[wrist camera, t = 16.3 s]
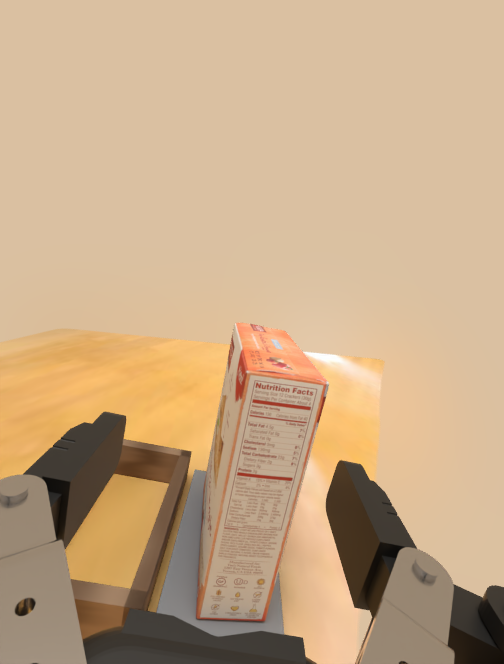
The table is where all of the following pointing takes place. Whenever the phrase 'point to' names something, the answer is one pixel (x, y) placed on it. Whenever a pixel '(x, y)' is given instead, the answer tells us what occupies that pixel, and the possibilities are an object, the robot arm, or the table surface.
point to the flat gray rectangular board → (184, 577)
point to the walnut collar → (114, 602)
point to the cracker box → (255, 470)
